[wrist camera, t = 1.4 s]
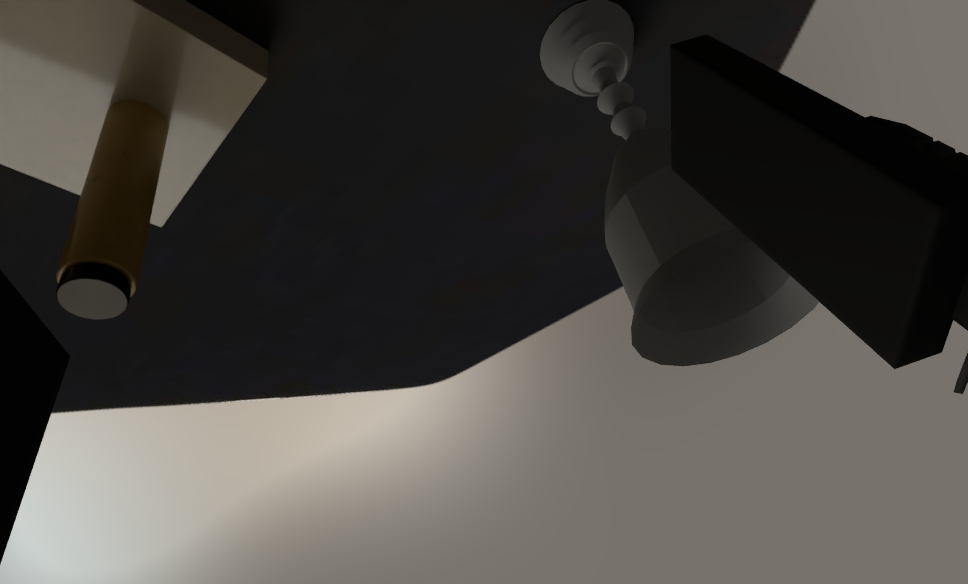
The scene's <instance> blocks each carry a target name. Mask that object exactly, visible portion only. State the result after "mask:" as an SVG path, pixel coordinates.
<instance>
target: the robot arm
mask: <svg viewBox="0 0 968 584" xmlns="http://www.w3.org/2000/svg"><path fill="white" fill-rule="evenodd" d="M671 168H672V170H673V171H674V172H675V173H676V174H677V175H679V176H680V177H681V178H682V179H683V180H684V181H685V182H686V183H687V184H689V185H690V186H691V187H692V188H693V189H694V190H695V191H696V192H697V193H699V194H700V195H701V196H702V197H703V198H704V199H705V200H706V201H708V202H709V203H710V204H711V205H712V206H713V207H714V208H715V209H716V210H718V211H719V212H720V213H721V214H722V215H723V216H724V217H725V218H727V219H728V220H729V221H730V222H731V223H732V224H733V225H734V226H735V227H737V228H738V229H739V230H740V231H741V232H742V233H743V234H744V235H745V236H747V237H748V238H749V239H750V240H751V241H752V242H753V243H754V244H756V245H757V246H758V247H759V248H760V249H761V250H762V251H763V252H764V253H766V254H767V255H768V256H769V257H770V258H771V259H772V260H773V261H775V262H776V263H777V264H778V265H779V266H780V267H781V268H782V269H783V270H785V271H786V272H787V273H788V274H789V275H790V276H791V277H792V278H793V279H795V280H796V281H797V282H798V283H799V284H800V285H801V286H802V287H804V288H805V289H806V290H807V291H808V292H809V293H810V294H811V295H812V296H814V297H815V298H816V299H817V300H818V301H819V302H820V303H821V304H823V305H824V306H825V307H826V308H827V309H828V310H829V311H831V313H833V314H834V315H835V316H836V317H837V318H838V319H839V320H840V321H841V322H843V323H844V324H845V325H846V326H847V327H848V328H849V329H850V330H852V331H853V332H854V333H855V334H856V335H857V336H858V337H859V338H861V339H862V340H863V341H864V342H865V343H866V344H867V345H868V346H870V347H871V348H872V349H873V350H874V351H875V352H876V353H877V354H878V355H879V356H881V357H882V358H883V359H884V360H885V361H886V362H887V363H888V364H890V365H891V366H892V367H893V368H894V369H896V368H899V367H902V366H905V365H908V364H910V363H913V362H916V361H919V360H921V359H925V358H927V357H930V356H933V355H936V354H938V353H941V352H942V350H943V348H944V345H945V341H946V339H947V336H948V333H949V330H950V328H951V325H952V322H953V320H954V321H956V322H957V323H958V324H960V325H961V326H963V327H964V328H965V329H966V330H968V155H966V154H964V153H962V152H959V153H956V152H955V149H954V148H952V147H950V146H948V145H946V144H944V143H942V142H940V141H935V142H934V141H933V138H932V137H930V136H928V135H926V134H924V133H922V132H920V131H918V130H916V129H914V128H912V127H910V126H908V125H906V124H902V123H898V122H894V121H890V120H886V119H882V118H878V117H873V116H869V117H866V118H865V117H863V116H861V115H859V114H857V113H855V112H853V111H852V110H850V109H848V108H846V107H844V106H842V105H840V104H838V103H836V102H834V101H832V100H831V99H829V98H827V97H824V96H823V95H821V94H819V93H817V92H815V91H813V90H811V89H809V88H808V87H806V86H803V85H802V84H800V83H798V82H796V81H794V80H792V79H791V78H789V77H787V76H785V75H783V74H781V73H779V72H777V71H775V70H773V69H772V68H770V67H768V66H766V65H764V64H762V63H760V62H758V61H756V60H754V59H753V58H751V57H749V56H747V55H745V54H743V53H741V52H739V51H737V50H735V49H733V48H732V47H730V46H728V45H726V44H724V43H722V42H720V41H718V40H716V39H714V38H713V37H711V36H709V35H707V34H706V35H703V36H699V37H696V38H693V39H689V40H686V41H682V42H679V43H675V44H672V45H671ZM69 358H70V355H69V354H68V353H67V352H66V351H65V349H64V348H63V347H62V346H61V344H60V343H59V342H58V341H57V339H56V338H55V337H54V336H53V334H52V333H51V332H50V331H49V329H48V328H47V327H46V326H45V324H44V323H43V322H42V321H41V320H40V318H39V317H38V316H37V315H36V313H35V312H34V311H33V310H32V308H31V307H30V306H29V305H28V303H27V302H26V301H25V300H24V298H23V297H22V296H21V295H20V293H19V292H18V291H17V290H16V289H15V287H14V286H13V285H12V284H11V282H10V281H9V280H8V279H7V277H6V276H5V275H4V274H3V272H2V271H1V270H0V564H1V560H2V558H3V555H4V551H5V549H6V546H7V542H8V540H9V537H10V534H11V531H12V528H13V525H14V522H15V519H16V516H17V513H18V510H19V507H20V504H21V501H22V498H23V495H24V492H25V489H26V486H27V483H28V480H29V477H30V474H31V471H32V468H33V465H34V462H35V459H36V456H37V454H38V451H39V448H40V445H41V441H42V438H43V436H44V432H45V430H46V427H47V424H48V421H49V418H50V415H51V412H52V409H53V406H54V403H55V400H56V397H57V394H58V391H59V388H60V385H61V382H62V379H63V376H64V373H65V370H66V367H67V364H68V361H69ZM967 383H968V353H967V356H966V359H965V361H964V364H963V366H962V369H961V372H960V374H959V377H958V379H957V382H956V386H955V389H954V392H955V393H961V394H963V392H964V390H965V387H966V385H967Z"/></svg>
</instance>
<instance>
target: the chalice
mask: <svg viewBox="0 0 968 584" xmlns="http://www.w3.org/2000/svg"><path fill="white" fill-rule="evenodd" d="M633 42H634V26H633V23H632V21H631V19H630V17H629V14H628V13H627V12H626V11H625V10H624V9H623V8H622V7H621V6H620V5H618V4H616V3H613V2H610V1H608V0H588V1H584V2H581V3H578V4H575V5H573V6H572V7H570V8H568V9H567V10H565V11H564V12H562V13H561V14H560V15H559V16H558V17H557V18H556V19H555V20H554V21H553V22H552V23H551V25H550V26H549V28H548V29H547V31H546V33H545V35H544V37H543V39H542V44H541V50H540V59H541V65H542V68H543V70H544V72H545V73H546V75H547V77H548V78H549V79H550V80H552V81H553V82H554V83H555V84H557V85H558V86H561V87H564V88H565V89H567V90H570V91H572V92H573V93H575V94H578V95H581V96H597V95H599V97H598V101H597V105H598V108H599V110H600V111H601V112H603V113H605V114H612V115H613V120H612V123H611V129H612V131H613V133H615V134H616V135H619V136H622V137H623V138H624V139H625V140H626V141H625V142H623V143H622V145H621V146H620V148H619V149H618V150H617V152H616V155H615V158H614V163H613V167H612V171H611V176H610V180H609V185H608V189H607V194H606V205H605V239H606V246H607V249H608V251H609V253H610V256H611V258H612V260H613V263H614V265H615V267H616V270H617V272H618V274H619V277H620V279H621V281H622V284H623V286H624V288H625V291H626V293H627V295H628V298H629V300H630V302H631V305H632V307H633V309H634V315H633V321H632V326H631V332H632V345H633V346H634V347H635V349H636V350H637V351H638V352H639V354H640V355H641V356H642V357H643V358H645V359H648V360H650V361H653V362H655V363H658V364H661V365H674V366H689V365H697V364H705V363H711V362H715V361H718V360H722V359H725V358H729V357H732V356H736V355H739V354H741V353H744V352H746V351H748V350H750V349H753V348H755V347H757V346H760V345H762V344H764V343H766V342H768V341H770V340H771V339H773V338H775V337H776V336H778V335H780V334H781V333H783V332H785V331H786V330H788V329H790V328H791V327H792V326H793V325H795V324H796V323H797V322H798V321H800V320H801V319H802V318H803V317H804V316H806V315H807V314H808V313H809V312H810V311H811V310H813V309H814V307H815V306H816V305H817V304H818V302H819V301H818V300H817V299H816V298H815V297H814V296H812V295H811V294H810V293H809V292H808V291H807V290H806V289H805V288H804V287H802V286H801V285H800V284H799V283H798V282H797V281H796V280H795V279H793V278H792V277H791V276H790V275H789V274H788V273H787V272H786V271H785V270H783V269H782V268H781V267H780V266H779V265H778V264H777V263H776V262H775V261H773V260H772V259H771V258H770V257H769V256H768V255H767V254H766V253H764V252H763V251H762V250H761V249H760V248H759V247H758V246H757V245H756V244H754V243H753V242H752V241H751V240H750V239H749V238H748V237H747V236H745V235H744V234H743V233H742V232H741V231H740V230H739V229H738V228H737V227H735V226H734V225H733V224H732V223H731V222H730V221H729V220H728V219H727V218H725V217H724V216H723V215H722V214H721V213H720V212H719V211H718V210H716V209H715V208H714V207H713V206H712V205H711V204H710V203H709V202H708V201H706V200H705V199H704V198H703V197H702V196H701V195H700V194H699V193H697V192H696V191H695V190H694V189H693V188H692V187H691V186H690V185H689V184H687V183H686V182H685V181H684V180H683V179H682V178H681V177H680V176H679V175H677V174H676V173H675V172H674V171H673V170H672V168H671V130H670V129H666V128H662V127H653V128H648V129H645V125H644V122H645V119H646V114H645V112H644V110H643V109H641V108H639V107H634V106H632V105H631V102H632V100H633V97H634V90H633V88H632V86H631V85H629V84H628V83H624V82H621V81H622V80H623V79H624V77H625V75H626V74H627V72H628V71H629V69H630V65H631V62H632V52H633Z"/></svg>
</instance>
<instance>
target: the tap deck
mask: <svg viewBox="0 0 968 584" xmlns="http://www.w3.org/2000/svg"><path fill="white" fill-rule="evenodd" d="M267 71H268V50H266V49H264V48H263V47H261V46H260V45H258V44H256V43H255V42H253V41H251V40H250V39H248V38H246V37H245V36H243V35H241V34H240V33H238V32H237V31H235V30H233V29H232V28H230V27H228V26H227V25H225V24H223V23H222V22H220V21H219V20H217V19H215V18H214V17H212V16H210V15H209V14H207V13H205V12H204V11H202V10H200V9H199V8H197V7H196V6H194V5H192V4H191V3H189V2H187V1H186V0H0V164H2V165H4V166H7V167H9V168H12V169H15V170H17V171H20V172H22V173H25V174H27V175H30V176H32V177H35V178H37V179H40V180H42V181H45V182H47V183H50V184H53V185H55V186H58V187H60V188H63V189H65V190H68V191H70V192H73V193H75V194H78V195H80V196H81V193H82V190H83V187H84V184H85V180H86V177H87V174H88V171H89V168H90V164H91V161H92V158H93V155H94V152H95V148H96V145H97V142H98V139H99V136H100V132H101V129H102V126H103V123H104V120H105V116H106V113H107V111H108V109H109V108H110V107H111V106H112V105H113V104H115V103H117V102H119V101H123V100H137V101H141V102H144V103H147V104H149V105H151V106H153V107H154V108H156V109H157V110H158V111H160V113H161V114H162V115H163V116H164V117H165V119H166V121H167V124H168V135H167V140H166V145H165V150H164V155H163V160H162V165H161V170H160V174H159V179H158V184H157V189H156V194H155V199H154V204H153V209H152V214H151V219H150V223H151V224H154V225H156V226H159V227H163V225H164V224H165V222H166V221H167V220H168V218H169V217H170V215H171V214H172V212H173V211H174V210H175V208H176V207H177V205H178V204H179V203H180V201H181V200H182V198H183V197H184V196H185V194H186V193H187V191H188V190H189V188H190V187H191V186H192V184H193V183H194V181H195V180H196V179H197V177H198V176H199V174H200V173H201V172H202V170H203V169H204V167H205V166H206V165H207V163H208V162H209V160H210V159H211V157H212V156H213V155H214V153H215V152H216V150H217V149H218V148H219V146H220V145H221V143H222V142H223V141H224V139H225V138H226V136H227V135H228V133H229V132H230V131H231V129H232V128H233V126H234V125H235V124H236V122H237V121H238V119H239V118H240V117H241V115H242V114H243V112H244V111H245V109H246V108H247V107H248V105H249V104H250V102H251V101H252V100H253V98H254V97H255V95H256V94H257V93H258V91H259V90H260V88H261V87H262V86H263V84H264V83H265V81H266V80H267Z"/></svg>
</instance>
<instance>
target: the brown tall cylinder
mask: <svg viewBox="0 0 968 584" xmlns="http://www.w3.org/2000/svg"><path fill="white" fill-rule="evenodd" d="M167 135H168V124H167V121H166V119H165V117H164V116H163V115H162V114H161V113H160V111H158V110H157V109H156V108H154V107H153V106H151V105H149V104H147V103H144V102H141V101H137V100H123V101H119V102H117V103H115V104H113V105H112V106H111V107H110V108H109V109H108V111H107V113H106V116H105V120H104V123H103V126H102V129H101V132H100V136H99V139H98V142H97V145H96V148H95V152H94V155H93V158H92V161H91V164H90V168H89V171H88V174H87V177H86V180H85V184H84V187H83V190H82V193H81V196H80V200H79V203H78V206H77V209H76V212H75V216H74V219H73V222H72V225H71V228H70V232H69V235H68V238H67V241H66V244H65V248H64V251H63V254H62V257H61V260H60V264H59V267H58V270H57V274H56V278H57V282H58V287H57V290H56V298H57V300H58V302H59V304H60V305H61V306H62V307H63V308H64V309H65V310H67V311H68V312H70V313H72V314H74V315H77V316H80V317H83V318H88V319H109V318H113V317H116V316H118V315H120V314H122V313H123V312H124V311H125V310H126V309H127V307H128V304H129V300H130V297H131V296H132V295H133V294H134V293H135V291H136V288H137V283H138V278H139V273H140V268H141V263H142V258H143V253H144V248H145V244H146V239H147V234H148V229H149V224H150V219H151V214H152V209H153V204H154V199H155V194H156V189H157V184H158V179H159V174H160V170H161V165H162V160H163V155H164V150H165V145H166V140H167Z"/></svg>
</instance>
